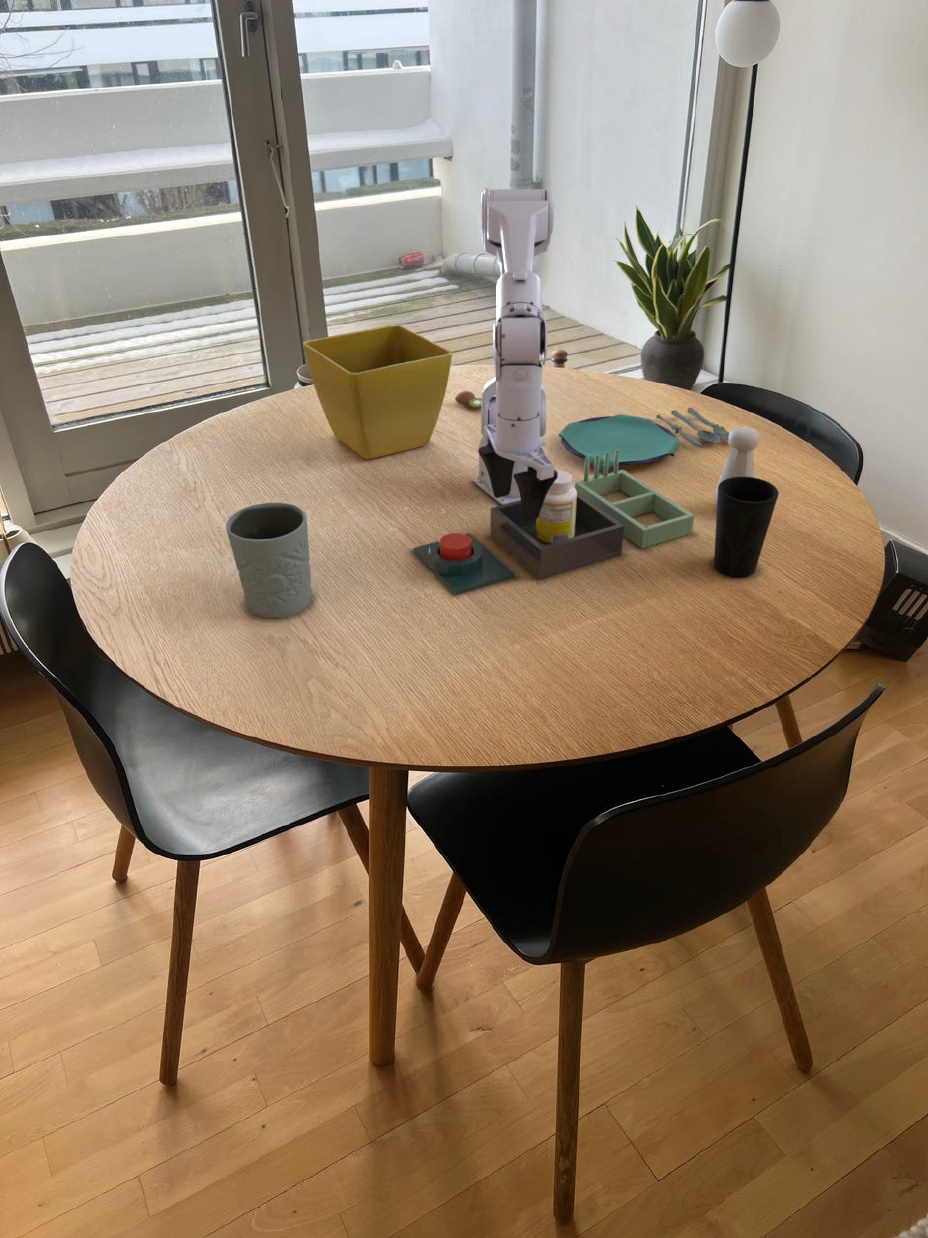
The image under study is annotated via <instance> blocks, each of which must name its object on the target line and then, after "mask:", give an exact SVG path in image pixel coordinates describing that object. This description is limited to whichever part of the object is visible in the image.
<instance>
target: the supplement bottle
mask: <svg viewBox="0 0 928 1238" xmlns="http://www.w3.org/2000/svg"><path fill="white" fill-rule="evenodd" d="M556 471H557V472H558V477H557V479H556V480H555V481H554V483H553V484H552V486H551V487H550V489H549V491H548V493H547V495H546V497H545V499H544V502H543V505H542V508H541V511H540V514H539V517H538V518H537V519H536V540H537V542H538V543H539V544H541V545H542V546H546V545H549V544H552V543H556V542H559V541H563V540H566V539H570V538H573V537H574V536H575V520H576V504H577V491H576V489H575V486H573V476H572V474H570V473H569V472H566V471H563V470H556Z"/></svg>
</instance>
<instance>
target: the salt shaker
mask: <svg viewBox="0 0 928 1238" xmlns="http://www.w3.org/2000/svg"><path fill="white" fill-rule="evenodd" d="M729 433H730V434H729V441H728V445H729V446H730V447H731V449H730V451H729V454H728V457H727V459H726V461H725V465H724V466H723V469H722V472H721V474H720V478H719V480H718V483H717V485H716V488H715V491H714V502H715V504H716V506H717V499H718V486H719V484H720V483H721V482H722V481H724V480H726V479H728V478H732V477H753V478H755V477H754V476H755V474H754V469H755V468H754V465H755V464H754V450H755V449H756V448H757V447H758V446H759V443H760V433H759V432H758V431H757V430H756V429H755V428H751V427H748V426H738V427H735V428H733V429H732V430H731V431H729Z"/></svg>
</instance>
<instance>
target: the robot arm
mask: <svg viewBox="0 0 928 1238" xmlns="http://www.w3.org/2000/svg"><path fill="white" fill-rule="evenodd" d="M480 196H481V197H480V199H481V200H480V203H481V204H480V206H481V207H480V208H481V209H480V210H481V211H480V214H481V215H480V217H481V218H480V219H481V221H480V223H481V225H480V227H481V229H480V230H481V232H480V233H481V236H482V237H481V239H482V242H481V243H482V244H481V245H482V246H484V247H483V248H484V252H485V253H487V254H489V255H492V256H494V257H495V258H496V260H497V263H498V266H499V267H498V268H499V270H500V277H499V278H498V279H497V283H496V287H495V288H496V289H495V291H496V321H494V323H493V328H492V329H493V330H492V331H493V333H492V335H493V337H492V340H493V344H492V349H493V350H492V351H493V352H492V356H493V362H494V373H495V376H494V377H492V378H491V379H490V380H489V381H487V382H486V383H485V384H484V385H483V388H482V389H481V396H482V397H481V398H482V400H481V410H480V417H481V418H480V428H481V430H480V435H482V437H481V439H480V442H479V445H478V452H477V453H478V478H475V479H474V480H473V483H474V484H476V485H477V486H478V487H479V488H480V489H482V490H483V491H484V492H485V493H486V494H488V495H489V496H490V497H491V498H493V499H494V500H495V501H496V502H497V503H499V504H500V506H501V505H505V504H508V503H512V502H516V501H520V500H521V510H522V516H523V519H524V520H525V521H529V520H533V519H537V518H538V517H539V514H540V511H541V508H542V505H543V502H544V499H545V497H546V495H547V493H548V491H549V489H550V487H551V486H552V484H553V483H554V481H555V480H556V479H557V477H558V472H557V471H558V470H556V469H555V463H554V462H553V461H552V460H551V459H550V458H549V456H548V455H547V452H546V451H545V449H544V447H545V446H546V445H547V440H546V438H544V436H545V435H546V431H547V399H546V398H547V395H546V394H547V392H546V389H545V386H544V385H543V383H542V382H543V366H545V365H546V361H547V355H548V341H549V340H548V324H547V319H546V316H545V315H546V314H545V311H544V310H543V290H542V289H543V287H542V281H541V278H540V277H539V276H538V274H536V272H534V271H533V263H534V261H535V258H536V256H539V255H541V254H543V253H546V252H548V249H549V246H550V244H551V238H552V235H553V232H554V220H555V219H554V218H555V195H554V192H553V191H552V189H551V187H545V189H544V188H519V189H517V188H516V189H515V188H514V189H513V188H509V189H508V188H507V189H505V188H504V189H499V188H498V189H490V188H484V189H483V191H482V192H481V195H480ZM540 356H541V357H542V362H541V361H540Z"/></svg>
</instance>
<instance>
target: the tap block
mask: <svg viewBox="0 0 928 1238" xmlns="http://www.w3.org/2000/svg"><path fill="white" fill-rule="evenodd" d="M464 534H465V535H467V536H469V537H470V538H471V540H472V555H471V556H470V557H469V558H467V559H464V560H460V561H459V560H447V559H444V558H442V557H441V556H440V542H439V541H440V540H438V541H434V542H431V543H427V544H423V545H419V546H416V547H412V552H413V554H415V555H416V557H417V558H418V559H419V560H420V561H422V563H423V564H424V565H426V567H427V568H428V569H429V570H430V571H431V572H432V573H433V574H434V575H435V576H436V577H437V578H438V579H439V580H440V581H441V582H442V583H443V584H444V585H445V586H446V587H447V588H448V589H449V591H450V592H452V593H453V594H454V596H458V595H462V594H465V593H468V592H471V591H474V590H478V589H482V588H484V587H488V586H491V585H495V584H498V583H501V582H505V581H508V580H512V579H514V575H515V574H514V572H513V571H512V570H511V569H509V568H508V567H507V566H506V565H505V564H503V563H502V562H501V560H499V559H498V558H497V557H496V556H495V555H494V554H493V553H491V552H490V551H489V550H488V549H487V548H486V547H485V546H484V545H482V544H481V543H480V542H479V541H478V540H477V539H476V538H475V537H474V536H472V535H471V534H470V533H469V532H467V533H464Z"/></svg>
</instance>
